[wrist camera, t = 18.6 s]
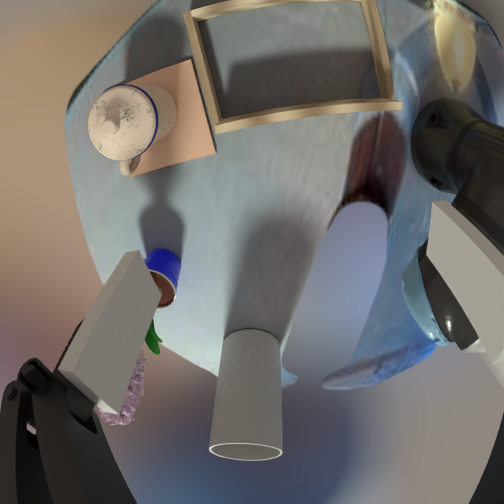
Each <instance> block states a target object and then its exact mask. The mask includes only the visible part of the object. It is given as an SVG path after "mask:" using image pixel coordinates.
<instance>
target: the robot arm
mask: <svg viewBox="0 0 504 504" xmlns="http://www.w3.org/2000/svg"><path fill="white" fill-rule="evenodd" d="M411 152H412V157H413V161H414V164H415V166H416V168H417V170H418V172H419V174H420V175H421V176H422V177H423V179H424V180H425V181H427V182H428V183H429V184H431V185H432V186H433V187H435V188H436V189H438V190H440V191H443V192H446V193H452V194H457V196H456V197H455V199H454V200H453V202H452V203H451V205H450V204H449V203H448V202H447V201H446V200H444V201H436V202H432V210H431V221H430V230H429V237H428V238H427V240H426V241H425V242H424V244H423V245H422V246H421V247H419V248H418V249H417V251H416V254H415V256H414V257H413V259H412V260H411V262H410V263H409V264H408V266H407V267H406V269H405V270H404V272H403V275H402V289H403V295H404V298H405V301H406V303H407V306H408V308H409V310H410V312H411V314H412V316H413V317H414V319H415V321H416V322H417V324H418V325H419V327H420V328H421V329H422V331H423V332H424V333H425V334H426V335H427V336H428V337H429V338H430V339H433V340H434V342H435V343H436V344H438V345H440V346H447V345H450V344H452V343H453V342H455V343H456V344H457V345H458V347H459V348H460V349H461V350H462V352H477V353H479V354H480V355H481V357H482V358H483V359H484V361H485V362H486V363H487V365H488V366H489V368H490V369H491V371H492V372H493V373H494V375H495V376H496V378H497V379H498V381H499V382H500V384H501V385H502V386H503V388H504V127H502V126H499V125H497V124H494V123H491V122H488V121H486V120H485V119H483V118H482V117H481V116H480V115H479V114H478V113H477V112H475V111H474V110H473V109H472V108H471V107H469V106H468V105H466V104H464V103H462V102H460V101H456V100H452V99H438V100H435V101H433V102H431V103H430V104H428V105H427V106H426V107H425V108H424V109H423V110H422V111H421V112H420V114H419V115H418V117H417V119H416V121H415V124H414V127H413V130H412V136H411ZM161 296H162V295H161V293H160V291H159V290H158V288H157V286H156V284H155V282H154V280H153V278H152V276H151V274H150V272H149V270H148V268H147V266H146V264H145V262H144V259H143V257H142V255H141V253H140V251H139V250H137V251H132V252H127V253H125V255H124V256H123V258H122V259H121V261H120V262H119V264H118V265H117V267H116V268H115V270H114V271H113V273H112V274H111V276H110V277H109V279H108V281H107V282H106V284H105V285H104V287H103V289H102V290H101V292H100V293H99V295H98V297H97V299H96V300H95V302H94V303H93V305H92V307H91V309H90V310H89V312H88V314H87V316H86V317H85V318H84V319H83V321H82V322H80V324H79V325H78V326H77V328H76V329H75V331H74V333H73V335H72V337H71V338H70V340H69V342H68V345H67V346H66V348H65V350H64V352H63V353H62V356H61V357H60V359H59V361H58V363H57V365H56V367H55V369H54V371H53V373H52V372H51V371H50V370H49V369H48V368H47V367H46V366H45V365H44V364H43V363H42V362H41V361H40V360H39V359H37V358H32V359H29V360H28V361H27V362H25V363H24V364H23V366H22V367H21V368H20V370H19V373H18V376H17V380H16V381H12V382H11V383H9V384H8V385H7V386H6V389H5V390H4V394H3V398H2V403H1V411H0V504H137V503H136V501H135V499H134V497H133V495H132V493H131V491H130V490H129V488H128V486H127V484H126V482H125V480H124V478H123V476H122V474H121V472H120V469H119V468H118V465H117V463H116V461H115V459H114V456H113V454H112V452H111V449H110V447H109V445H108V442H107V439H106V437H105V434H104V432H103V429H102V426H101V424H100V421H99V418H98V415H97V414H96V412H95V411H94V410H93V408H94V405H96V406H98V407H99V408H100V409H101V410H102V411H104V412H108V413H113V414H120V410H121V407H122V404H123V401H124V398H125V395H126V391H127V388H128V385H129V382H130V379H131V376H132V374H133V371H134V368H135V365H136V362H137V359H138V356H139V354H140V351H141V348H142V345H143V343H144V340H145V337H146V334H147V332H148V329H149V327H150V324H151V321H152V319H153V316H154V314H155V311H156V308H157V306H158V303H159V301H160V298H161ZM27 423H28V424H29V425H31V426H32V427H33V428H35V429H36V435H34V434H32V433H31V432H30V431H28V430H27ZM469 504H504V413H503V417H502V421H501V424H500V428H499V431H498V434H497V438H496V440H495V443H494V446H493V449H492V452H491V455H490V458H489V460H488V463H487V465H486V468H485V470H484V473H483V475H482V477H481V479H480V482H479V484H478V486H477V488H476V490H475V492H474V494H473V496H472V498H471V500H470V502H469Z"/></svg>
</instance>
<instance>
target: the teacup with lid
mask: <svg viewBox="0 0 504 504" xmlns="http://www.w3.org/2000/svg"><path fill="white" fill-rule="evenodd" d="M176 117H177V108H176V103H175V101H174V99H173V97H172V95H171V94H170V93H169V92H168V91H167V90H165V89H164V88H162V87H160V86H157V85H135V86H134V85H128V84H122V85H117V86H114V87H112V88H110V89H108V90H106V91H105V92H104V93H102V94H101V95H100V96H99V97H98V99H97V100H96V101H95V103H94V104H93V106H92V109H91V111H90V115H89V120H88V130H89V135H90V138H91V141H92V143H93V144H94V146H95V147H96V149H97V150H98V151H99V152H100V153H102V154H103V155H104V156H106V157H108V158H110V159H114V160H120V170H121V172H122V174H123V175H127V176H130V175H132V174H133V173H134V172H135V171H136V169H137V167H138V165H139V162H140V159H141V154H143V153H144V152H145V151H146V150H147V149H148V148H149V147H150V146H152V145H153V144H155V143H157V142H158V141H160V140H162V139H163V138H165V137H166V136H167V135H168V134H169V133H170V131H171V130H172V128H173V127H174V124H175V122H176ZM130 159H132V160H131V162H130V164H129V160H130Z"/></svg>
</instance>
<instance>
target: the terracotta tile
mask: <svg viewBox="0 0 504 504" xmlns="http://www.w3.org/2000/svg"><path fill="white" fill-rule="evenodd" d="M126 84H128V85H134V86H135V85H157V86H160V87H162V88H164V89H165V90H167V91H168V92H169V93H170V94H171V95H172V97H173V99H174V101H175V103H176V108H177V117H176V122H175V124H174V127H173V128H172V130H171V131H170V133H169V134H168V135H167V136H166V137H165V138H163V139H162V140H160V141H158V142H157V143H155V144H153V145H152V146H150V147H149V148H148V149H147V150H146V151H145V152H144V153H143V154H141V159H140V162H139V165H138V167H137V169H136V171H135V172H134V173H133V174H132V175H130V176H129V178H131V177H134V176H137V175H140V174H143V173H146V172H150V171H153V170H156V169H160V168H163V167H167V166H170V165H174V164H177V163H181V162H185V161H188V160H192V159H196V158H200V157H204V156H208V155H212V154H216V149H215V146H214V142H213V138H212V135H211V131H210V127H209V123H208V120H207V116H206V112H205V108H204V104H203V101H202V97H201V93H200V89H199V85H198V82H197V78H196V74H195V70H194V66H193V63H192V60H191V59H190V60H187V61H184V62H181V63H178V64H175V65H172V66H169V67H166V68H163V69H160V70H158V71H155V72H152V73H150V74H147V75H145V76H142V77H140V78H138V79H135V80H133V81H131V82H128V83H126ZM131 160H132V159H130V160H129V164H130V162H131Z"/></svg>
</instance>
